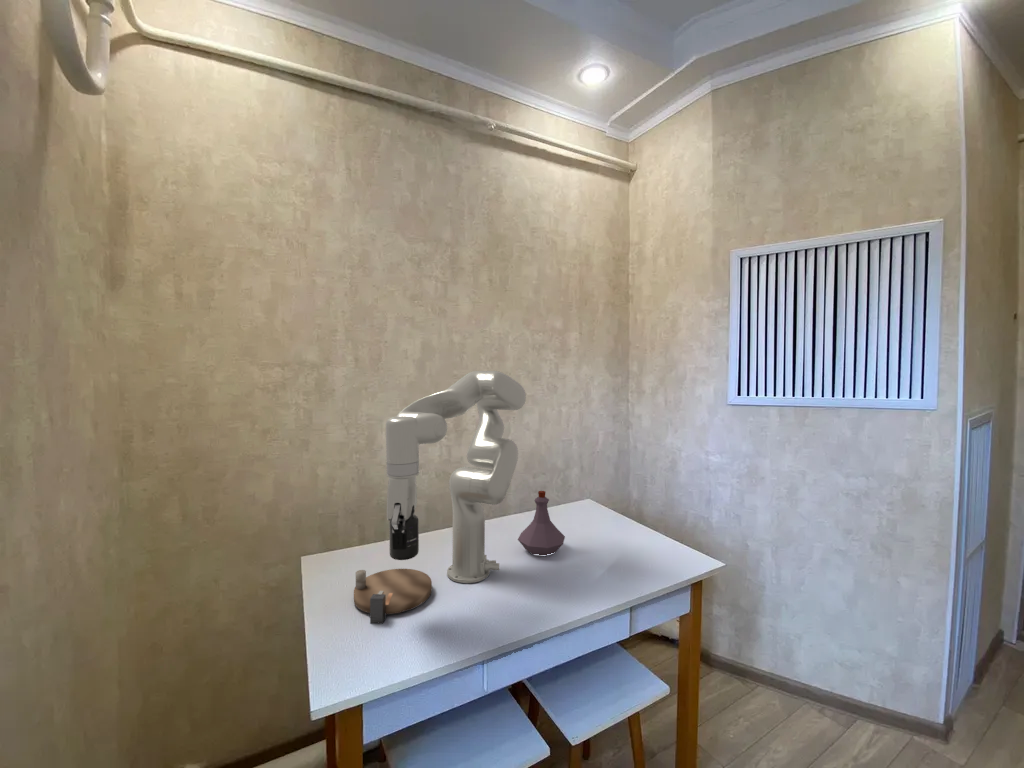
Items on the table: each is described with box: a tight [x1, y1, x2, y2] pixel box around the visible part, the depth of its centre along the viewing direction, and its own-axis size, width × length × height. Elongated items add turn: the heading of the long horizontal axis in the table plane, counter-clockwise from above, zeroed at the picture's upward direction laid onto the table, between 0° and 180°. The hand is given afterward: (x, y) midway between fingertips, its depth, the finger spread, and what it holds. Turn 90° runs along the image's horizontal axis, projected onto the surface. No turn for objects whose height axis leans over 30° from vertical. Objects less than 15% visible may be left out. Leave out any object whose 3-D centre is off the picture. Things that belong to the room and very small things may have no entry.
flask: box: [517, 490, 566, 555], centre depth 144 cm, size 16×16×20 cm
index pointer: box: [369, 591, 387, 625], centre depth 103 cm, size 3×4×6 cm
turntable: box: [353, 568, 433, 615], centre depth 114 cm, size 20×20×6 cm
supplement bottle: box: [388, 505, 420, 561], centre depth 102 cm, size 7×7×12 cm
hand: (404, 541), depth 103 cm, fingers closed on supplement bottle, 6 cm apart
